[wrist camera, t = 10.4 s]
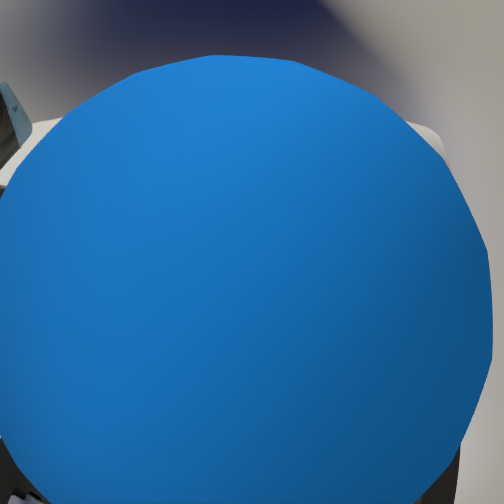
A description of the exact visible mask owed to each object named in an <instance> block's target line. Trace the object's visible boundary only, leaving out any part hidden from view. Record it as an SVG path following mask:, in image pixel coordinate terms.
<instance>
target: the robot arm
mask: <svg viewBox="0 0 504 504" xmlns="http://www.w3.org/2000/svg"><path fill="white" fill-rule="evenodd" d="M31 133H32V123H31V121H30V119H29V118H28V116H27V114H26V112H25V111H24V109H23V107H22V105H21V104H20V102H19V101H18V99H17V97H16V96H15V94H14V93H13V91H12V90H11V88H10V87H9V85H8V84H7V83H6V82H2V83H0V170H1V169H2V168H3V166H4V165H5V164H6V163H7V162H8V161H9V160H10V159H11V157H12V156H13V155H14V154H15V153H16V152H17V151H18V150H19V149H20V148H21V147H22V145H23V143H24V142H25V141H26V140H27V139H28V138H29V136H30V135H31ZM6 187H7V186H4V185H0V198H1V196H2V194H3V192H4V191H5V189H6ZM460 445H461V444H460ZM459 460H460V446H459V448H458V450H457V452H456V454H455V456H454V458H453V460H452V462H451V464H450V465H449V466H448V467H447V468H446V469H445V471H444V472H443V473H442V474H441V475H440V476H439V477H438V479H437V480H436V481H435V482H434V483H433V484H432V485H431V486H430V487H429V488H428V489H427V490H426V491H425V492H424V493H423V494H422V495H421V496H420V497H419V498H418V499H417V500H416V501H415V502H414V503H413V504H454V499H455V493H456V486H457V479H458V470H459ZM0 504H51V503H50V502H49V501H48V500H47V499H46V498H45V497H44V496H43V495H42V494H41V493H40V492H39V491H38V490H37V489H36V488H35V486H34V485H33V484H32V483H31V482H30V481H29V480H28V479H27V478H26V476H25V475H24V474H23V473H22V472H21V470H20V469H19V468H18V467H17V465H16V463H15V462H14V460H13V458H12V456H11V455H10V453H9V451H8V449H7V447H6V445H5V444H4V442H3V440H2V438H0Z"/></svg>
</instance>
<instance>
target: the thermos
mask: <svg viewBox="0 0 504 504" xmlns="http://www.w3.org/2000/svg"><path fill="white" fill-rule="evenodd" d="M492 346H493V315H492V294H491V280H490V270H489V262H488V254H487V249H486V247H485V244H484V242H483V239H482V237H481V234H480V232H479V230H478V227H477V225H476V223H475V220H474V218H473V216H472V214H471V212H470V209H469V207H468V205H467V203H466V201H465V199H464V197H463V195H462V193H461V191H460V189H459V187H458V185H457V183H456V181H455V180H454V178H453V176H452V174H451V172H450V170H449V168H448V167H447V165H446V163H445V161H444V160H443V158H442V157H441V156H440V155H439V154H438V153H437V152H436V151H435V150H434V149H433V148H432V147H431V146H430V145H429V144H428V143H427V142H426V141H425V140H424V139H423V138H422V137H421V136H420V135H419V134H418V133H417V132H416V131H415V130H414V129H413V128H412V127H410V126H409V125H408V124H407V123H406V122H405V121H404V120H403V119H402V118H401V117H399V116H398V115H397V114H396V113H395V112H394V111H393V110H391V109H390V108H389V107H388V106H387V105H385V104H384V103H383V102H382V101H381V100H380V99H378V98H377V97H376V96H375V95H373V94H371V93H369V92H367V91H365V90H363V89H360V88H358V87H356V86H354V85H351V84H350V83H348V82H345V81H343V80H341V79H338V78H336V77H334V76H331V75H329V74H326V73H324V72H321V71H319V70H316V69H314V68H311V67H308V66H306V65H303V64H300V63H297V62H294V61H289V60H280V59H272V58H261V57H247V56H225V55H224V56H223V55H209V56H204V57H199V58H194V59H189V60H185V61H180V62H176V63H171V64H167V65H164V66H160V67H156V68H152V69H149V70H145V71H142V72H139V73H135V74H133V75H131V76H129V77H127V78H125V79H123V80H121V81H120V82H118V83H116V84H114V85H112V86H111V87H109V88H107V89H105V90H104V91H102V92H100V93H99V94H97V95H95V96H94V97H92V98H90V99H89V100H87V101H85V102H84V103H82V104H81V105H79V106H78V107H76V108H75V109H73V110H72V111H70V112H69V113H68V114H67V115H65V116H64V117H63V118H62V119H61V120H60V121H59V122H58V123H57V124H56V125H55V126H54V127H53V128H52V129H51V130H50V131H49V132H48V133H47V135H46V136H45V137H44V138H43V139H42V140H41V141H40V142H39V143H38V144H37V145H36V146H35V148H34V149H33V150H32V151H31V152H30V153H29V154H28V155H27V157H26V158H25V159H24V160H23V161H22V163H21V164H20V165H19V166H18V167H17V169H16V171H15V172H14V174H13V176H12V178H11V179H10V181H9V183H8V185H7V187H6V189H5V191H4V192H3V194H2V196H1V198H0V436H1V438H2V440H3V442H4V444H5V445H6V447H7V449H8V451H9V453H10V455H11V456H12V458H13V460H14V462H15V463H16V465H17V467H18V468H19V469H20V470H21V472H22V473H23V474H24V475H25V476H26V478H27V479H28V480H29V481H30V482H31V483H32V484H33V485H34V486H35V488H36V489H37V490H38V491H39V492H40V493H41V494H42V495H43V496H44V497H45V498H46V499H47V500H48V501H49V502H50V503H51V504H413V503H414V502H415V501H416V500H417V499H418V498H419V497H420V496H421V495H422V494H423V493H424V492H425V491H426V490H427V489H428V488H429V487H430V486H431V485H432V484H433V483H434V482H435V481H436V480H437V479H438V477H439V476H440V475H441V474H442V473H443V472H444V471H445V469H446V468H447V467H448V466H449V465H450V464H451V462H452V460H453V458H454V456H455V454H456V452H457V450H458V448H459V446H460V444H461V441H462V439H463V437H464V435H465V433H466V431H467V428H468V426H469V424H470V421H471V419H472V416H473V414H474V411H475V408H476V406H477V404H478V401H479V398H480V395H481V392H482V390H483V387H484V384H485V381H486V377H487V374H488V371H489V367H490V364H491V361H492Z"/></svg>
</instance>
